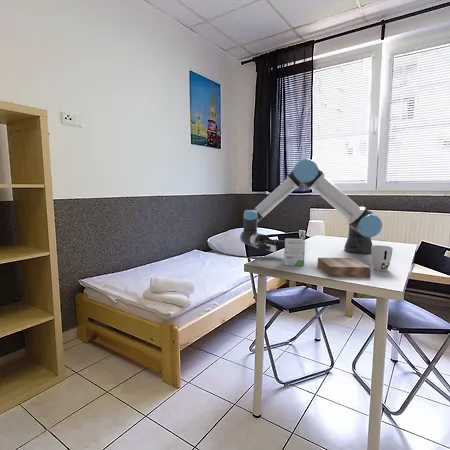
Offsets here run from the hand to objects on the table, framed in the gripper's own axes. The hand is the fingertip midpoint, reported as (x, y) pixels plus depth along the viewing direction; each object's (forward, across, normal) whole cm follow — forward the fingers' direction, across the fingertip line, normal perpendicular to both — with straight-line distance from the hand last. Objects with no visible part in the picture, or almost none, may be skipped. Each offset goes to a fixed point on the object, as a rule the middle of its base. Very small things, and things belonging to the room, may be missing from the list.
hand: (287, 248), depth 139 cm
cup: (+28, -28, -7) cm, 41 cm away
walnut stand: (+23, -11, -7) cm, 26 cm away
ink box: (+4, 0, -7) cm, 8 cm away
